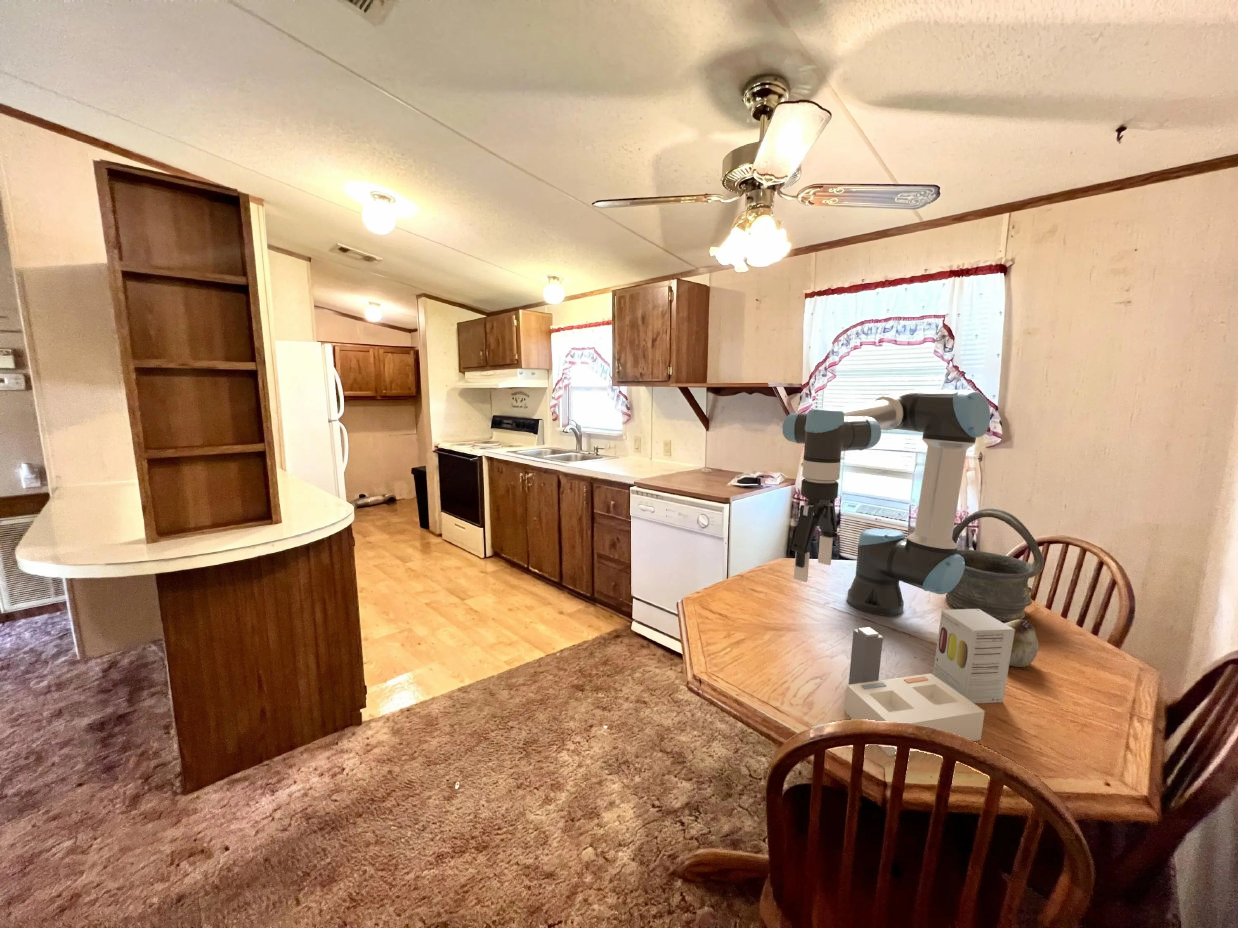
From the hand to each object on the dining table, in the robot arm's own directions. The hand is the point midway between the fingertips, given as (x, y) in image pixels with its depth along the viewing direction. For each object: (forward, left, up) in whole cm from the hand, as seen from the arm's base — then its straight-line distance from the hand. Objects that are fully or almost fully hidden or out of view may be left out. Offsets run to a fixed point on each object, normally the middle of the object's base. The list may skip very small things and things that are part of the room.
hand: (812, 571), depth 108 cm
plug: (-8, +9, -24) cm, 27 cm away
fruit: (-50, +7, -24) cm, 56 cm away
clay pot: (-71, -18, -24) cm, 77 cm away
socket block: (-9, +21, -24) cm, 33 cm away
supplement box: (-30, +14, -24) cm, 41 cm away
